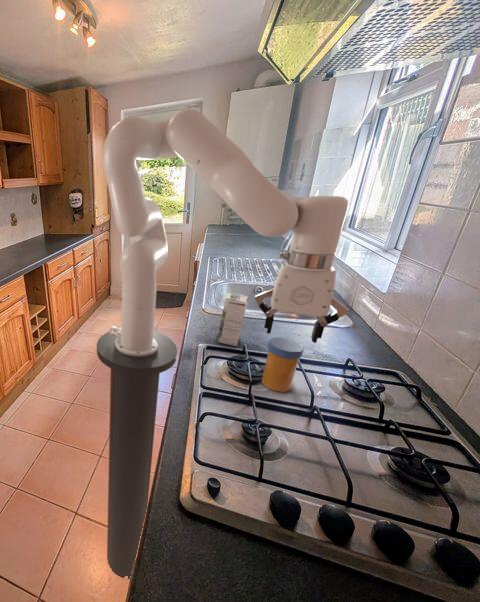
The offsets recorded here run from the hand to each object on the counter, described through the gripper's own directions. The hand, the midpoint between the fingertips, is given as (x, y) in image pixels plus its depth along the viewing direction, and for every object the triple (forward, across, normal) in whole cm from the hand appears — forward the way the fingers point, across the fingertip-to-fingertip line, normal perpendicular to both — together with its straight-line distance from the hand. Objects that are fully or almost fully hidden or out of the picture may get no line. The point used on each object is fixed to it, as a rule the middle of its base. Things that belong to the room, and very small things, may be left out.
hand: (290, 335), depth 68 cm
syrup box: (+14, -14, +17) cm, 26 cm away
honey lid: (+3, 0, 0) cm, 3 cm away
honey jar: (+14, 0, 0) cm, 14 cm away
